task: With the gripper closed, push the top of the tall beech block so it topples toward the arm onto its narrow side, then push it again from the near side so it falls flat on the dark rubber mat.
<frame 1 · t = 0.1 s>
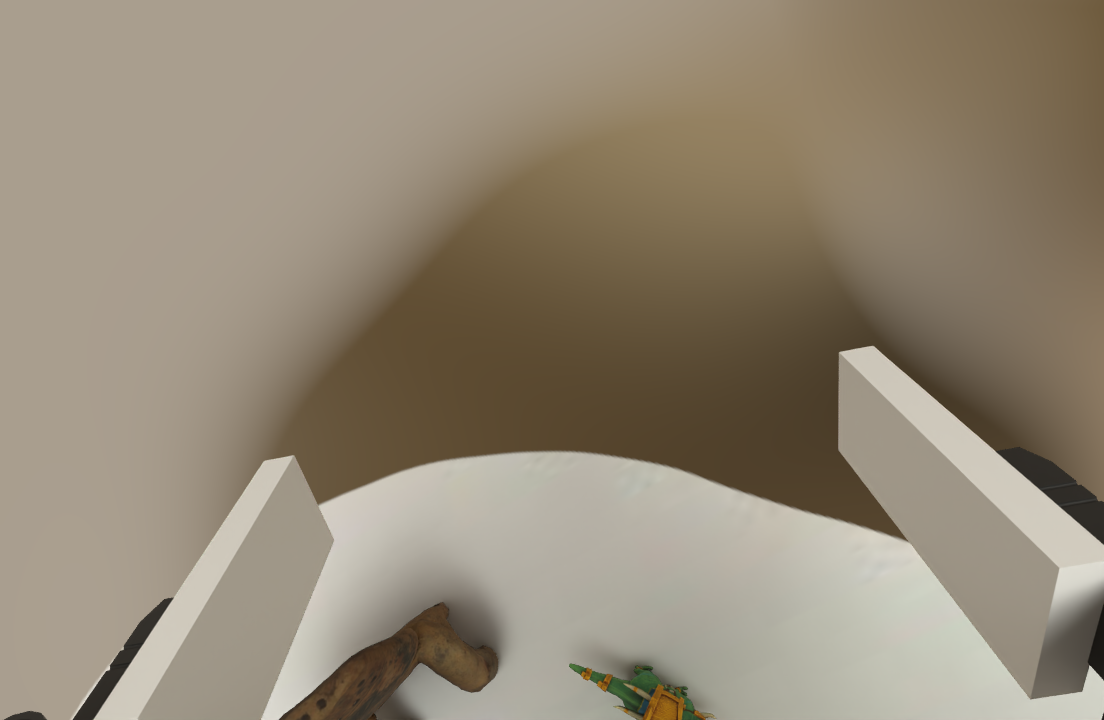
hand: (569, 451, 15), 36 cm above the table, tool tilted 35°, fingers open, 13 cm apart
figurine: (428, 667, 49), on the table
figurine 2: (644, 680, 48), on the table
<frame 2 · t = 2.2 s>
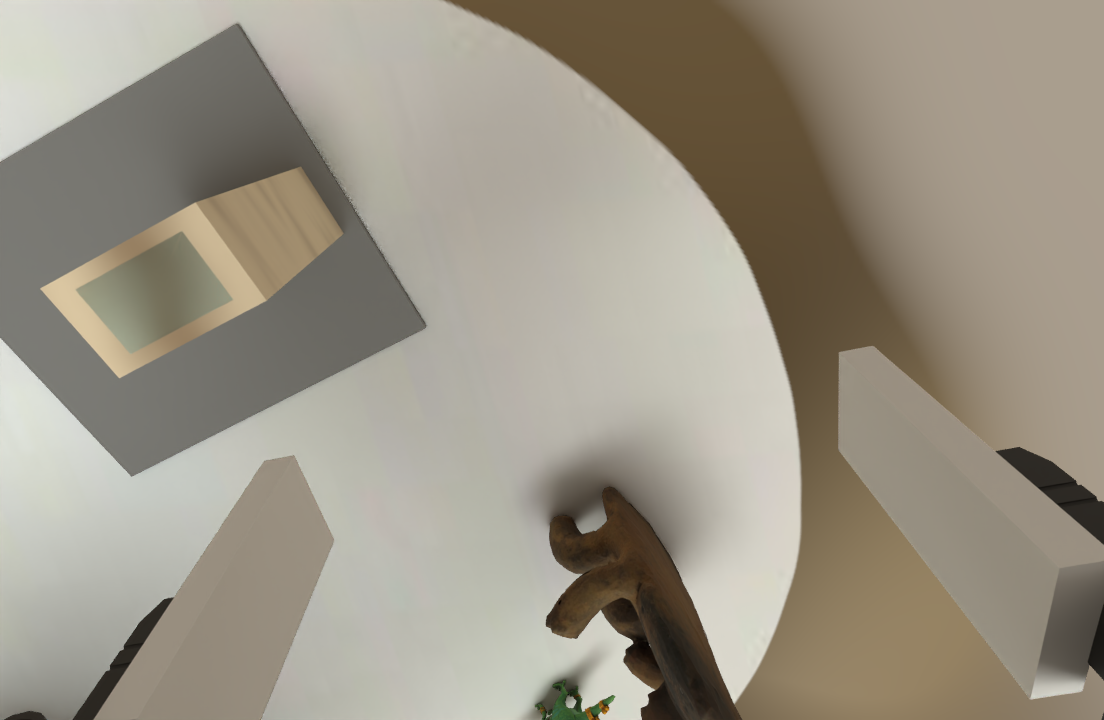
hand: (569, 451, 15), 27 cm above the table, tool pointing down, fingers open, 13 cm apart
figurine: (615, 538, 50), on the table
beech block: (271, 228, 38), resting on rubber mat
rubber mat: (180, 278, 39), on the table
figurine 2: (563, 687, 56), on the table
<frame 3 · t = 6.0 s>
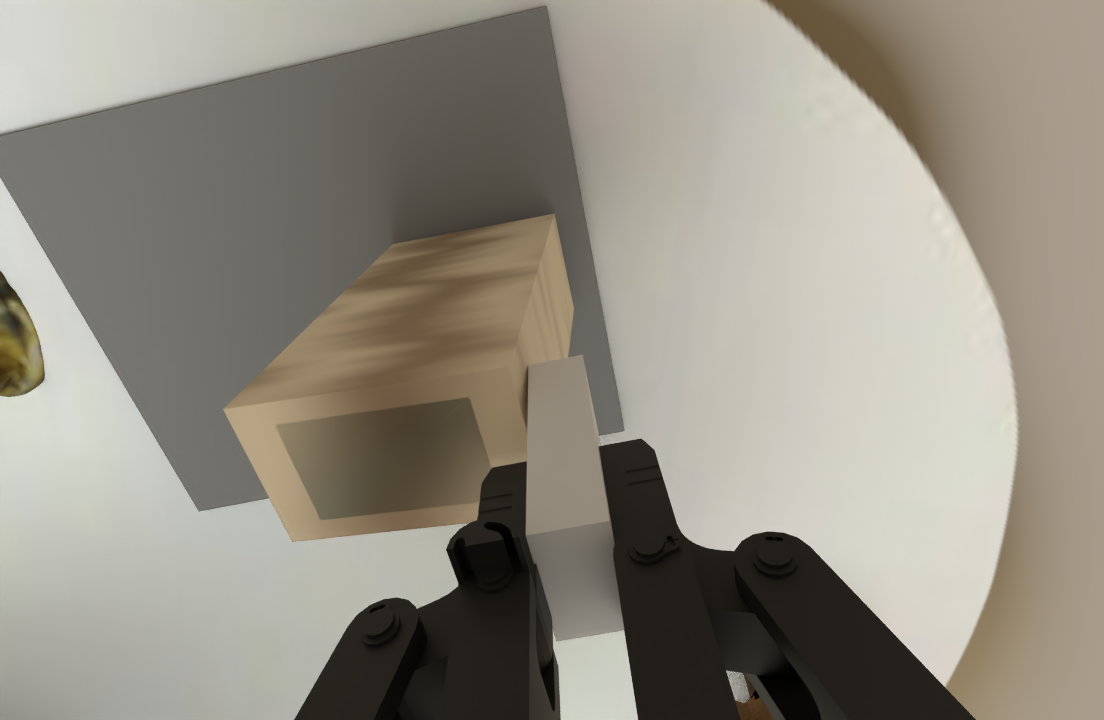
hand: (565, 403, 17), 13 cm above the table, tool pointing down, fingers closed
figurine: (729, 685, 43), on the table
beech block: (484, 276, 28), point 1 cm above the table, tilted 6°, touching rubber mat
rubber mat: (343, 300, 30), on the table
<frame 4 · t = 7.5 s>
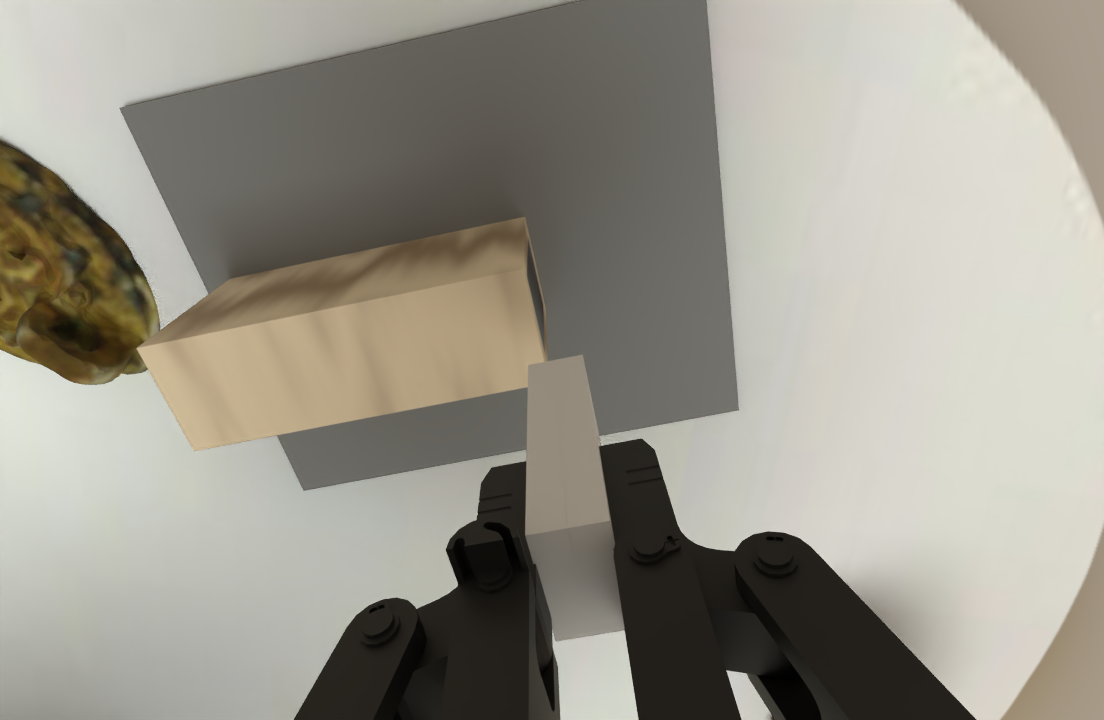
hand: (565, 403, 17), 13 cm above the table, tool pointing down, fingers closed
beech block: (536, 292, 25), point 4 cm above the table, tilted 90°, touching rubber mat
rubber mat: (468, 275, 29), on the table
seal: (21, 249, 29), on the table
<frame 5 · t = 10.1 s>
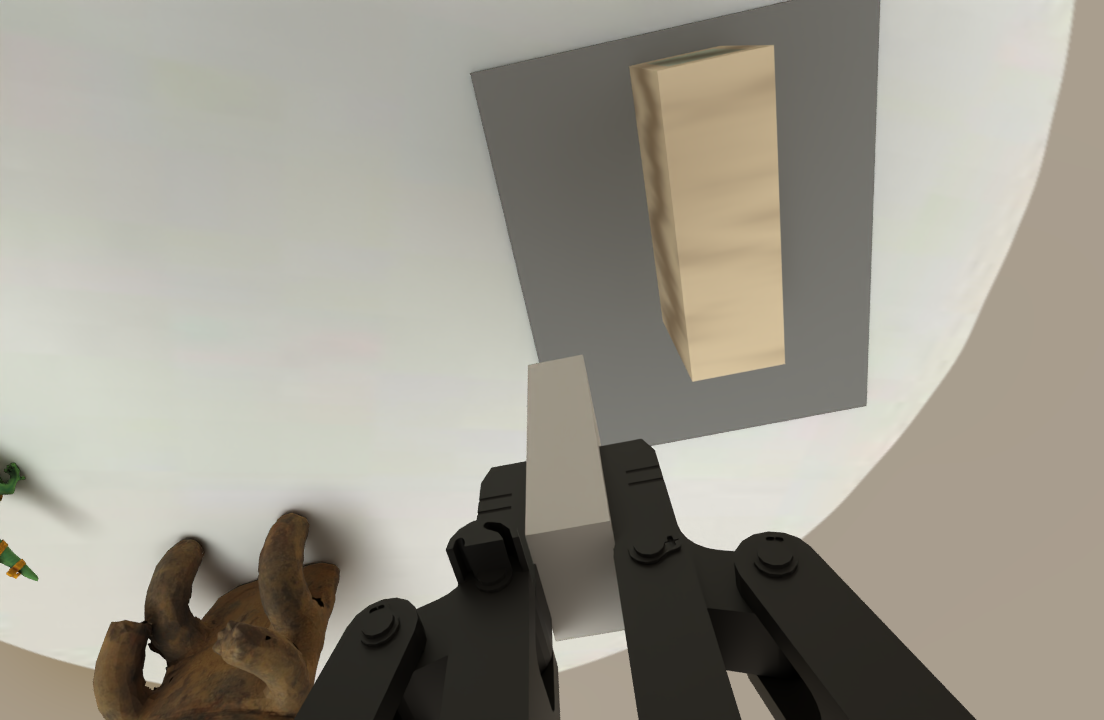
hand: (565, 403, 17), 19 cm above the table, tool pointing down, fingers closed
figurine: (262, 558, 45), on the table
beech block: (717, 340, 33), point 4 cm above the table, tilted 90°, touching rubber mat
rubber mat: (693, 260, 36), on the table
figurine 2: (7, 471, 41), on the table
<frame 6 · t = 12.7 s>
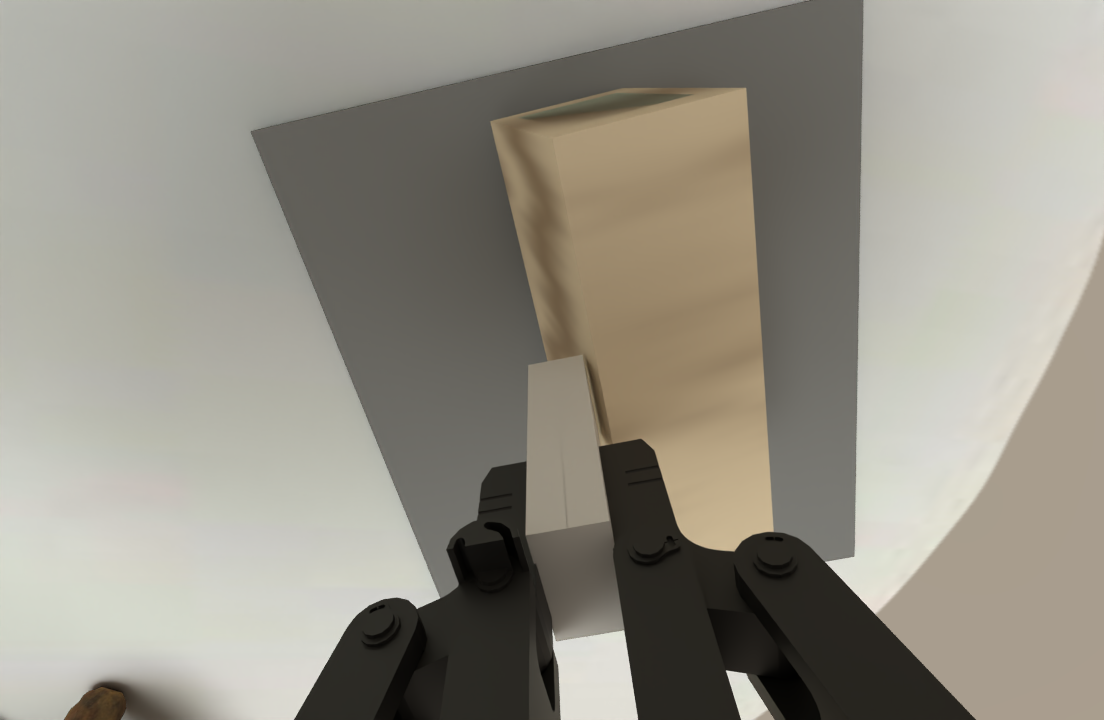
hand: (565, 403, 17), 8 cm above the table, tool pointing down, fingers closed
beech block: (661, 508, 23), point 5 cm above the table, tilted 90°, touching rubber mat
rubber mat: (607, 378, 25), on the table
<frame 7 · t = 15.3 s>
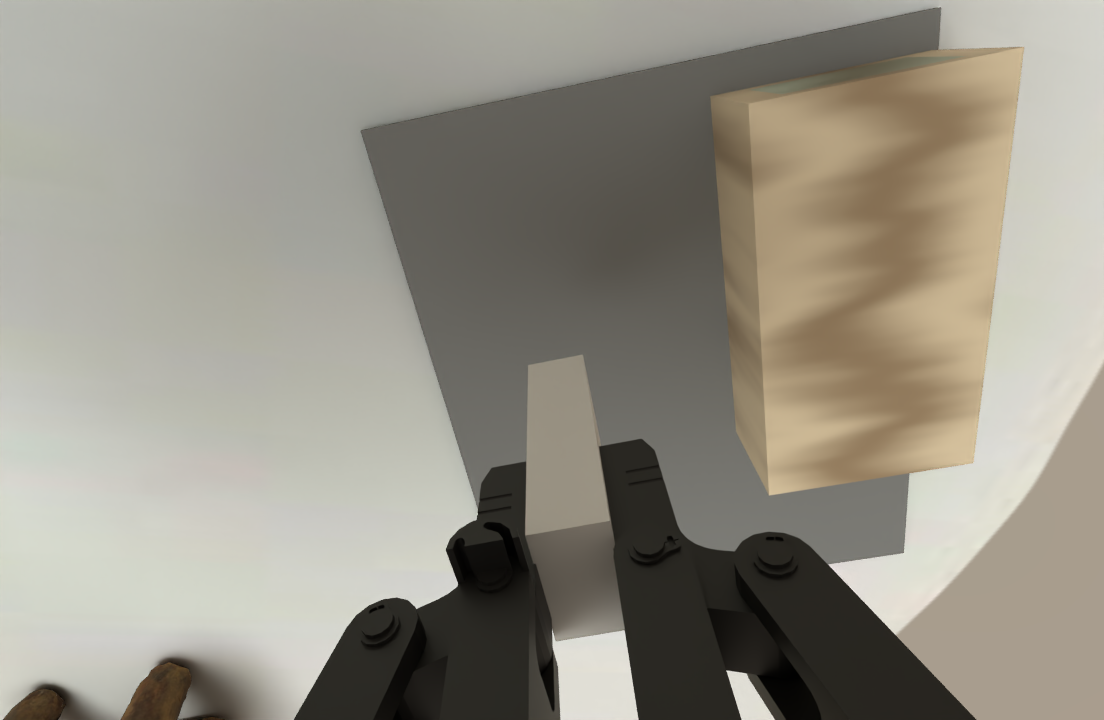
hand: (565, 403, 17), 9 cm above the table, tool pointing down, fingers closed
figurine: (141, 709, 36), on the table
beech block: (843, 445, 25), point 3 cm above the table, tilted 90°, touching rubber mat
rubber mat: (675, 372, 27), on the table
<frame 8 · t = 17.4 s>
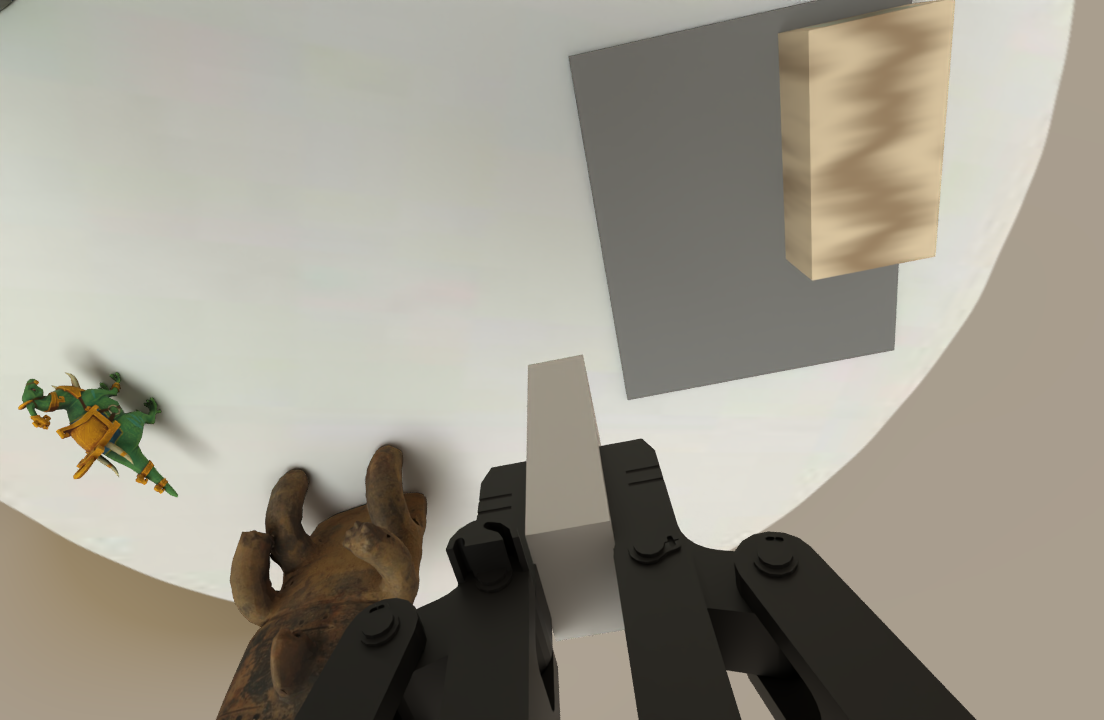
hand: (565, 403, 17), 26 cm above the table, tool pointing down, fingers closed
figurine: (358, 489, 51), on the table
beech block: (856, 257, 40), point 3 cm above the table, tilted 90°, touching rubber mat
rubber mat: (748, 218, 42), on the table
figurine 2: (145, 406, 47), on the table
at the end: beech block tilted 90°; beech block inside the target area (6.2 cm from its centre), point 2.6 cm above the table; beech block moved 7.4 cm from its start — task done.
